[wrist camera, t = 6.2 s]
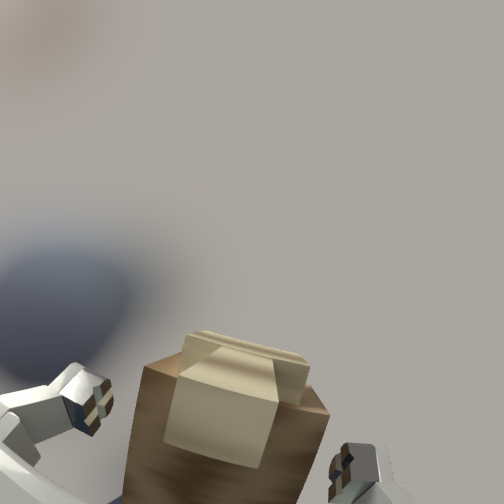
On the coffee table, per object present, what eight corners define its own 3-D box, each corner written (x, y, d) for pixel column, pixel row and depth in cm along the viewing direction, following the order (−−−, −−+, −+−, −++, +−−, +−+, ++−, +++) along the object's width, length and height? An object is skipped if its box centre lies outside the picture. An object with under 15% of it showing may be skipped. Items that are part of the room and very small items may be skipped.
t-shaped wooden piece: (198, 359, 22) (205, 330, 23) (290, 383, 22) (299, 353, 22) (101, 414, 8) (113, 346, 8) (327, 479, 7) (352, 411, 8)
